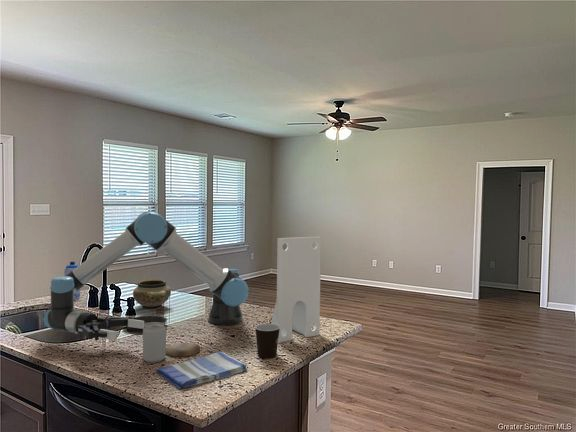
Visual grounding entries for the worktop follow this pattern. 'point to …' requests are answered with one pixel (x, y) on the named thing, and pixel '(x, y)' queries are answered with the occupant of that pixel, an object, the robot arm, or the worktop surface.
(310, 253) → the arched white panel
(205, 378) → the dish towel
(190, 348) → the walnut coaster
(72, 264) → the aerosol can
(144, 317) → the frying pan
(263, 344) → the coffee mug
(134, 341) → the worktop surface
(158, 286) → the ceramic bowl
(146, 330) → the can
